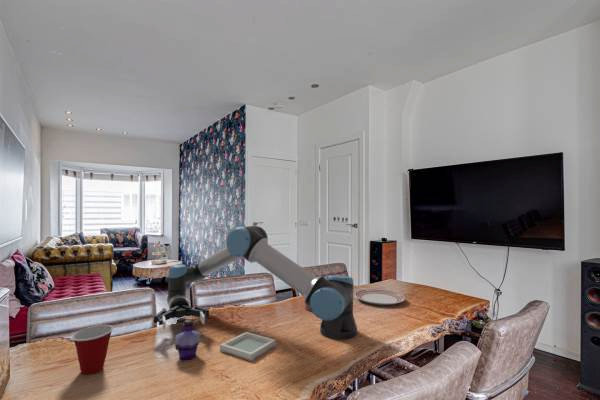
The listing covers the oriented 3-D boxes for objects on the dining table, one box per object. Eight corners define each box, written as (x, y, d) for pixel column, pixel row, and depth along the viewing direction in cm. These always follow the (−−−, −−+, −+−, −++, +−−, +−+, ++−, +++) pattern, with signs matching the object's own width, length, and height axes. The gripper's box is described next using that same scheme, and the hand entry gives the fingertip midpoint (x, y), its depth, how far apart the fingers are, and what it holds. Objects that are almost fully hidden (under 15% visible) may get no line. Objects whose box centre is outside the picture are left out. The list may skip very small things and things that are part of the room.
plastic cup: (69, 368, 99) (70, 328, 99) (109, 358, 105) (110, 321, 106) (70, 383, 90) (71, 340, 90) (114, 372, 97) (115, 332, 97)
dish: (275, 346, 117) (275, 339, 117) (250, 361, 105) (251, 354, 105) (246, 337, 124) (246, 331, 124) (220, 350, 112) (220, 344, 112)
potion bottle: (170, 355, 109) (171, 319, 109) (195, 348, 114) (196, 314, 114) (178, 365, 102) (179, 327, 102) (204, 357, 107) (205, 321, 107)
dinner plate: (411, 309, 166) (412, 302, 166) (359, 307, 166) (359, 301, 166) (396, 294, 193) (396, 289, 193) (351, 293, 193) (351, 288, 193)
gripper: (208, 311, 141) (218, 328, 122) (146, 318, 130) (146, 338, 111) (209, 294, 141) (219, 308, 122) (146, 300, 131) (147, 316, 111)
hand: (184, 322), depth 117 cm, fingers open, 13 cm apart
